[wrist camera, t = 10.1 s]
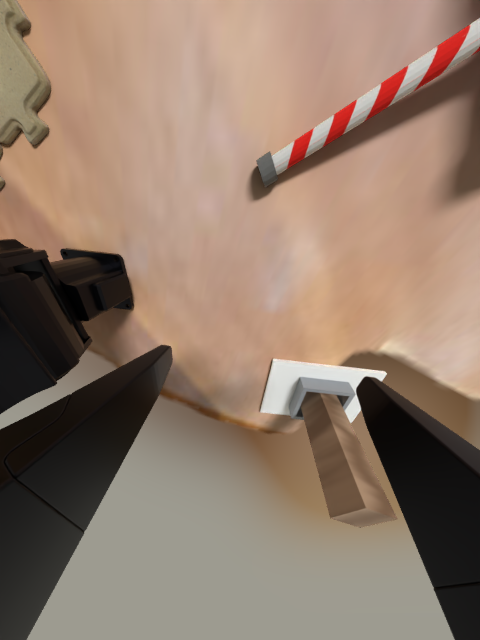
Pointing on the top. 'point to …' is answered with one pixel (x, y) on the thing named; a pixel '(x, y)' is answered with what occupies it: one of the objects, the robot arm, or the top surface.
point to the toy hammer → (374, 101)
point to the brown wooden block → (343, 464)
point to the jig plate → (312, 386)
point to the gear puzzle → (19, 80)
